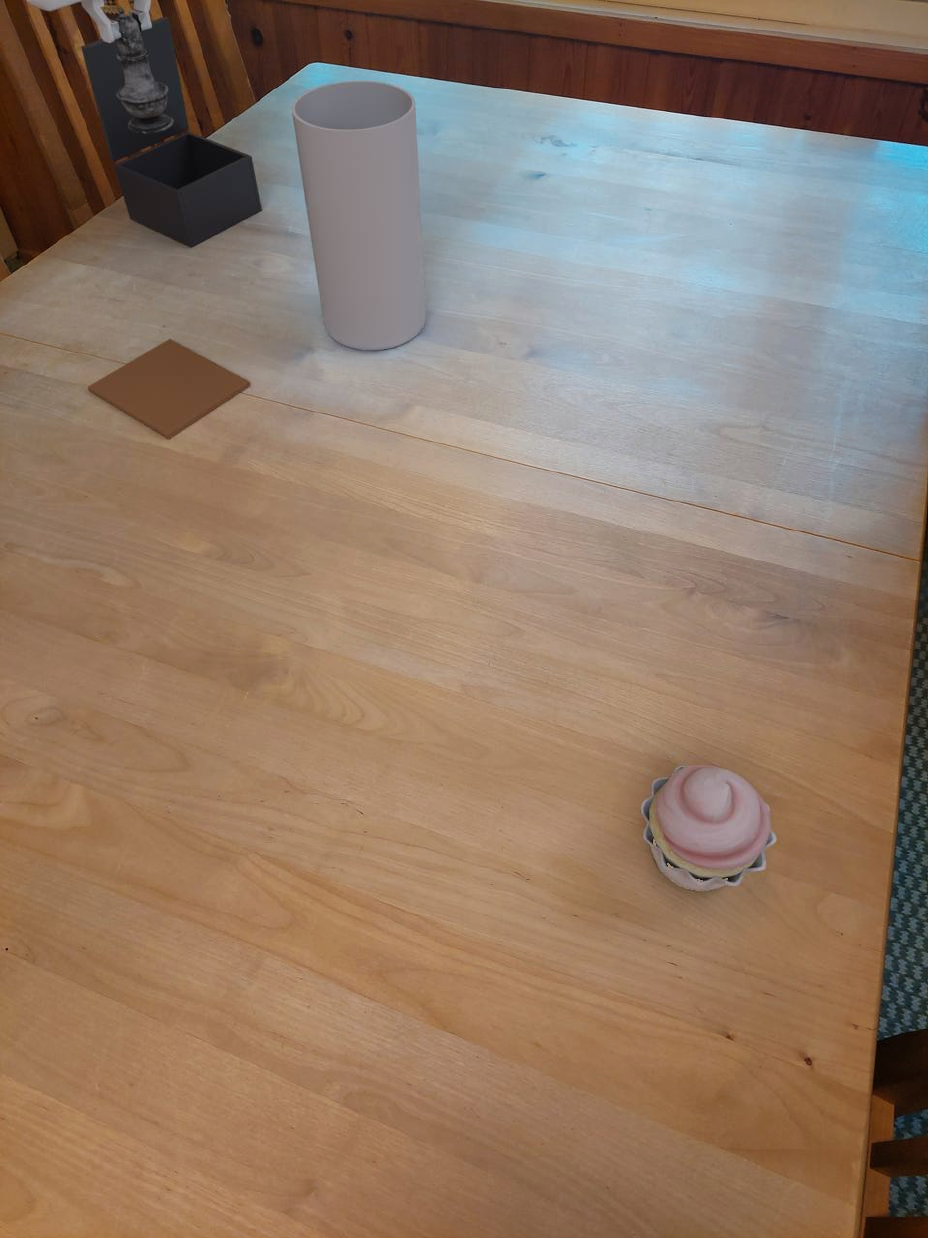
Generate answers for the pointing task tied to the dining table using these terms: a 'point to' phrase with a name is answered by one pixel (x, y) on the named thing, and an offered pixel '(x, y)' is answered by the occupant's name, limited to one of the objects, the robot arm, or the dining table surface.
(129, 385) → the cork mat
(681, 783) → the cupcake
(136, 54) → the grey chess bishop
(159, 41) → the dark hinged lid
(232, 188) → the dark open-top box
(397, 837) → the dining table surface
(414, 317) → the cylinder vase
